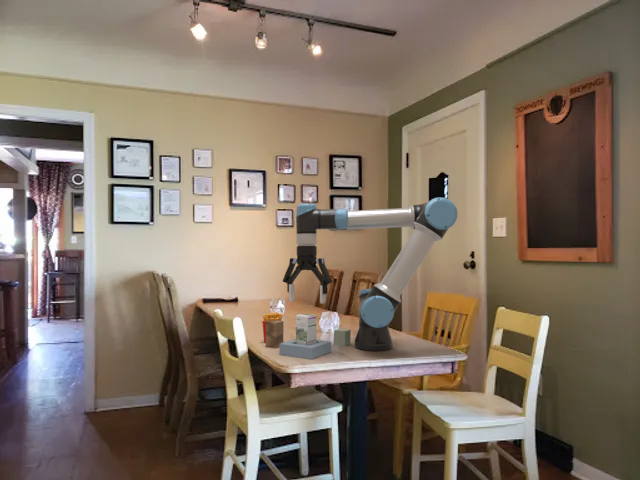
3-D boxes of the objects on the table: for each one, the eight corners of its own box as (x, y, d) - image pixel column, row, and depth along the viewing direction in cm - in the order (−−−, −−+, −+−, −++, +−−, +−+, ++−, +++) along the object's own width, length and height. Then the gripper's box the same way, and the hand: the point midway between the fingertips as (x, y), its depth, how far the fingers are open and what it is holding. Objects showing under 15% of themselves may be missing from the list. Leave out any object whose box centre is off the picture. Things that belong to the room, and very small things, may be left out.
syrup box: (317, 353, 180) (317, 314, 181) (307, 356, 176) (307, 316, 176) (305, 351, 184) (305, 313, 184) (295, 353, 179) (295, 314, 179)
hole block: (331, 352, 183) (331, 341, 183) (312, 359, 170) (312, 348, 171) (299, 347, 190) (299, 337, 190) (279, 354, 177) (279, 343, 178)
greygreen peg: (350, 344, 198) (350, 329, 198) (344, 346, 194) (344, 331, 194) (339, 342, 200) (339, 328, 201) (333, 345, 196) (334, 330, 196)
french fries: (264, 343, 197) (265, 314, 197) (261, 342, 201) (261, 313, 201) (283, 341, 201) (283, 313, 201) (279, 340, 205) (280, 311, 205)
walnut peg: (283, 346, 193) (283, 321, 193) (276, 348, 189) (276, 322, 189) (273, 344, 195) (273, 320, 196) (265, 347, 191) (265, 321, 191)
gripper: (340, 244, 178) (341, 302, 177) (284, 245, 190) (285, 299, 190) (331, 244, 171) (331, 304, 171) (273, 245, 184) (273, 301, 183)
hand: (307, 302), depth 180 cm, fingers open, 13 cm apart
